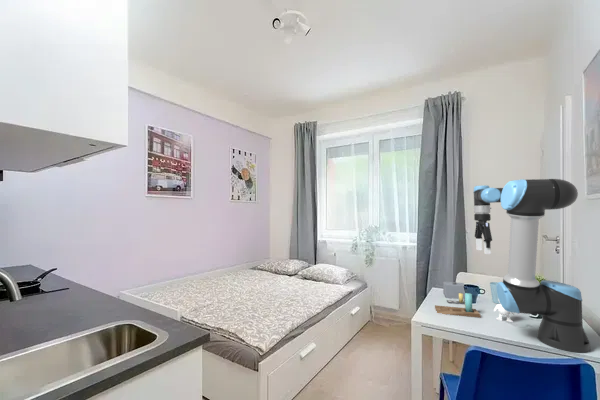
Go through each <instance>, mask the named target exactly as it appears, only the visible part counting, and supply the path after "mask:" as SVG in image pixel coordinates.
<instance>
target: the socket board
mask: <svg viewBox="0 0 600 400" xmlns="http://www.w3.org/2000/svg"><path fill="white" fill-rule="evenodd" d="M434 310H435V312H436V311H437V312H436V313H442V314H441V315H447V314H450V315H449V316H458V315H459V316H461V317H471V318H479V319H480V318H481V314H480V312H479V311H478V310H477V309H476V308H472V312H465V307H458V306H445V305H434Z"/></svg>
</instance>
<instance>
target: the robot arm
mask: <svg viewBox="0 0 600 400" xmlns="http://www.w3.org/2000/svg"><path fill="white" fill-rule="evenodd" d="M578 195H579V193H578V189H577V187H576V186H575V185H574V184H573V183H572V182H570V181H567V180H565V179H560V178H545V179H544V178H542V179H541V178H539V179H536V178H535V179H524V178H523V179H515V180H510V181H507V183H506V184H505V185H504V186H503V187H490V186H489V185H487V184H486V185H475V186H474V187H473V213H474V215H473V216H474V219H473V220H474V221H475V230H474V237H475V246H476V247H475V249H476V251H483V249H484V251H483V252H484V253H483V254H485V255H491V254H492V249H491V245H492V244H491V242H492V241H493V237H492V232H491V226H490V223H489V222H490V221H491V219H492V218H491V214H490V213H491V209H492V207H491V204H492V203H494V204H495V203H500V205H501V208H502V209H503V210H506V212H505V213H506V214H507V216H508V217H510V227H509V228H510V229H509V245H508V246H509V247H508V248H509V250H508V264H507V266H508V267H507V273H506V274H505V275H503V277H502V278H503V279H502V281H499V282H498V281H497V282H498V283H497V295H498V298H499V301H500V303H501V305H502V307H503V308H504V309H505V310H506V311H508V312H510V313H511V312H514V314H515V313H516V314H523V315H524V314H525V315H526V314H528V315H541V321H540V324H539V326H538V329H537V331H536V332H537V333H536V337H537V339H538V340H539V341H540V342H541V343H543V344H545V345H547V346H550V347H553V348H554V349H558V350H561V351H566V352H572V353H588V352H590V351H591V342H590V341H589V338H588V336H587V334H586V331H585V329H584V327H583V326H584V325H583V296H582V291H581V289H579V288H578V287H576V286H574V285H571V284H567V283H563V282H559V281H555V280H548V279H547V280H546V279H542V280H541V281H538V279H536V267H537V254H538V253H537V252H538V240H539V239H538V238H539V236H538V235H539V225H540V222H539V221H540V219H541V218H543V217H544V216H545V214H546V210H549V211H550V210H561V209H565V208H568V207H570V206H572V205H573V204H574V203H575V202H576V200H577V199H578ZM483 238H484V239H483ZM483 247H484V248H483Z"/></svg>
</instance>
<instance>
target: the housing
mask: <svg viewBox="0 0 600 400" xmlns="http://www.w3.org/2000/svg"><path fill="white" fill-rule="evenodd" d="M464 285H466V284H465V283H464V282H456V281H442V287H443V288H442V290H443V291H442V293H443V296H444V297H445V298H446V299H458V300H459V293H462V294H463V300H465V293H464V288H463V286H464Z"/></svg>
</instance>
